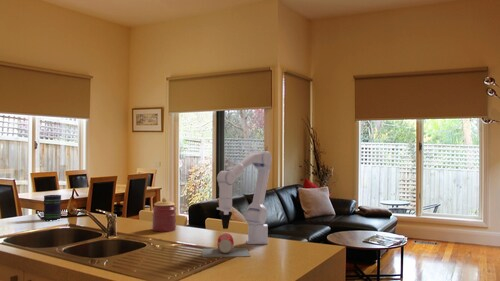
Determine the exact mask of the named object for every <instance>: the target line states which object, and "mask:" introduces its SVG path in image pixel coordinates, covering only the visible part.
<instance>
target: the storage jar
mask: <svg viewBox="0 0 500 281" xmlns="http://www.w3.org/2000/svg"><path fill="white" fill-rule="evenodd" d="M61 205H62V195H61V194H45V195H44V196H43V208H44V209H43V221H44V220H57V219H60V218H61V216H62V210H61V208H62V207H61Z"/></svg>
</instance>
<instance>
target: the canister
mask: <svg viewBox="0 0 500 281" xmlns="http://www.w3.org/2000/svg"><path fill="white" fill-rule="evenodd" d="M161 199H162V200H160V201H157V202H155V203H153V205H154V207H152V225H151V226H152V227H151V228H152V229H151V230H152V231H153V232H158V231H159V232H163V233H164V232H165V233H166V232H167V231H168V232H173V231H175V230H176V228H177V223H176V222H177V213H176V209H177V206H175V205H176V203H174V202H173V201H171V200H168V198H167V197H162V198H161ZM159 232H158V233H159Z"/></svg>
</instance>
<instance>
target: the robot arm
mask: <svg viewBox="0 0 500 281" xmlns="http://www.w3.org/2000/svg"><path fill="white" fill-rule="evenodd" d="M272 161H273V156H272V154H271V152H270V151H268V150H265V151H264V150H263V151H262V150H252V151H250V152H249V153H248V155H247V156H246V157H244V159H242V160H241V161H239V162H233V163H232V165H230V166H229V167H227V168H226V169H225V170H220V171H219V173H218V174H217V176H216V181H217V183H218V187H219V193H218V195H219V197H218V198H219V201H218V202H219V204H218V207H216V210H217V211H218V210H219V213H218V214H219V216H220V218H221V226H222V229H223V230H228V229H229V227H230V226H229V225H230V221H231V217H232V215H233V212H232V211H233V184H234V183H235V182H236V179H237V178H238V177H239V176H241V175H242V174H243V173H244V172H245V169H246V168H248V167H250V166H251V165H252V166H253V167H254V168H255V169H257V172H258V173H257V178H256V182H255V188H254V192H253V198H252V202H251V203H250V204H249V205H248V206H247V209H246V211H245V212H244V219H245V221H246V224H247V235H248V236H247V239H246V242H247V244H248V245H268V244H269V242H268V241H269V236H268V235H269V234H268V233H269V229H268V223H266V222H267V219H268V215H267V214H268V213H267V212H268V209H267V207H266V206H265V205H264V203H265V198H266V192H267V188H268V183H269V176H270V171H271V166H272Z"/></svg>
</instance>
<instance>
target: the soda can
mask: <svg viewBox="0 0 500 281" xmlns="http://www.w3.org/2000/svg"><path fill="white" fill-rule="evenodd" d="M234 241H235V240H234V237H233V236H232V235H231V233H229V232H223V233H221V234H220V235H219V236H218V238H217V243H216V244H217V246H216V247H217V248H218V249H219V250H220V251H221V252H223V253H228V252H230V251H231V250H232V249H233V248H234V245H235V242H234Z"/></svg>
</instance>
